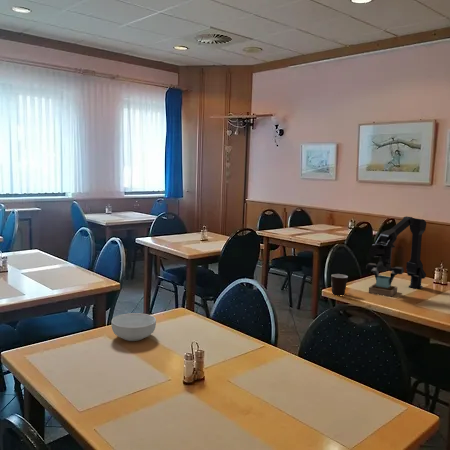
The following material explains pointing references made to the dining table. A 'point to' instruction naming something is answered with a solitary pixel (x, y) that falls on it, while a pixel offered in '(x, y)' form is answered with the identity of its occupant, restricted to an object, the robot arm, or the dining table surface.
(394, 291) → the walnut crate
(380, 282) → the small crate
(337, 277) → the dark brown cup
